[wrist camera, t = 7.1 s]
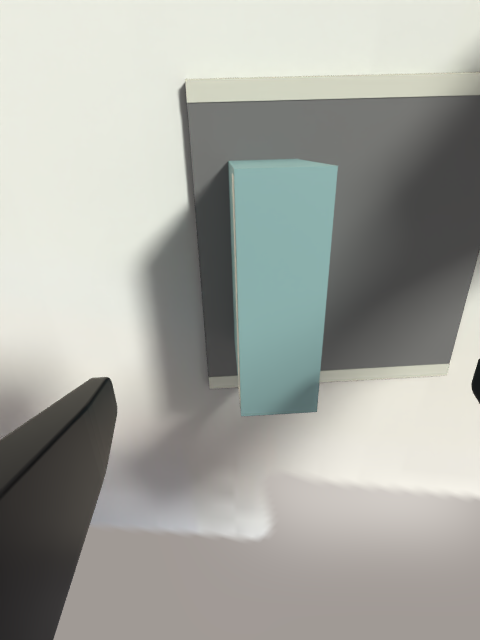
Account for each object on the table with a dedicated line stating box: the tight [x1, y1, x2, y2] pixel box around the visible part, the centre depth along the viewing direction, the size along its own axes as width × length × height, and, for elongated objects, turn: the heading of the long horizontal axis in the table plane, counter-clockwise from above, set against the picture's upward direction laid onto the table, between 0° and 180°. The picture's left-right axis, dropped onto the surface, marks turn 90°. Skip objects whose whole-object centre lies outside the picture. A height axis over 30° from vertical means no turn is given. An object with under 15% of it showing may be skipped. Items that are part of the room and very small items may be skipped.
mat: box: [185, 72, 480, 389], centre depth 18 cm, size 14×15×1 cm
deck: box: [228, 159, 338, 416], centre depth 15 cm, size 3×9×6 cm, turn 1°
